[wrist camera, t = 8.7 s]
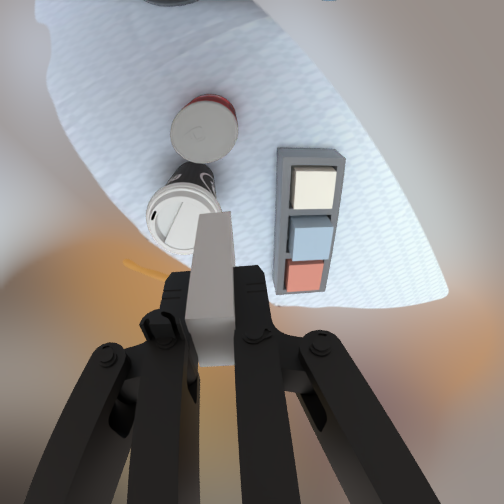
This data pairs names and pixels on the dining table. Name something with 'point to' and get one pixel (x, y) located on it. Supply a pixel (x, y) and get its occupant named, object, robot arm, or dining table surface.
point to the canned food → (205, 129)
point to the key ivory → (312, 186)
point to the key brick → (303, 275)
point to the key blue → (310, 237)
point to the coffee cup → (181, 207)
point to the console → (286, 210)
